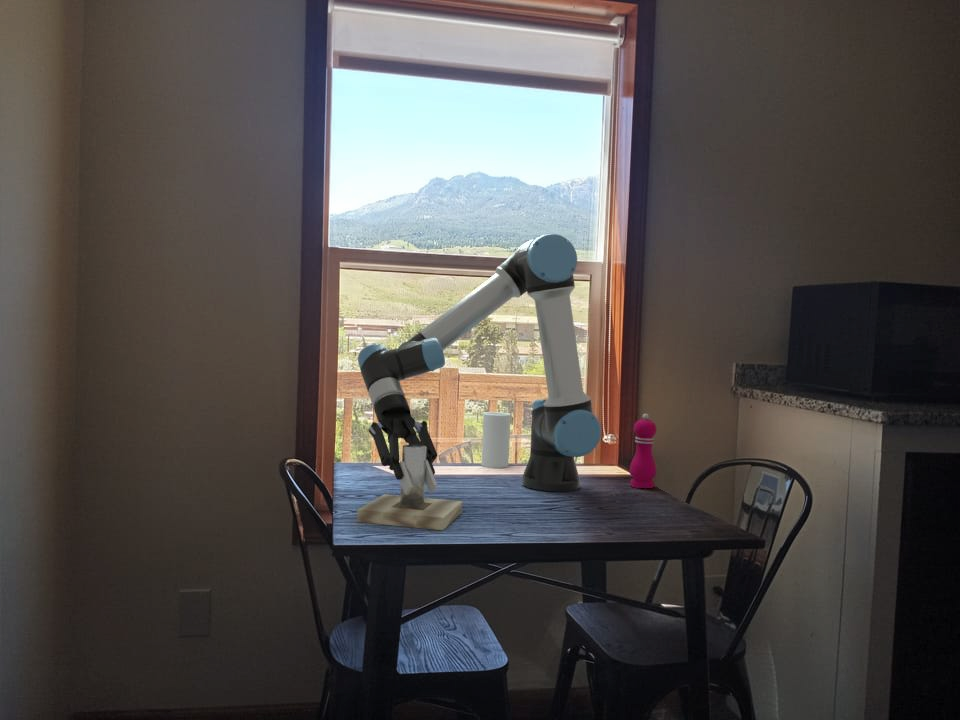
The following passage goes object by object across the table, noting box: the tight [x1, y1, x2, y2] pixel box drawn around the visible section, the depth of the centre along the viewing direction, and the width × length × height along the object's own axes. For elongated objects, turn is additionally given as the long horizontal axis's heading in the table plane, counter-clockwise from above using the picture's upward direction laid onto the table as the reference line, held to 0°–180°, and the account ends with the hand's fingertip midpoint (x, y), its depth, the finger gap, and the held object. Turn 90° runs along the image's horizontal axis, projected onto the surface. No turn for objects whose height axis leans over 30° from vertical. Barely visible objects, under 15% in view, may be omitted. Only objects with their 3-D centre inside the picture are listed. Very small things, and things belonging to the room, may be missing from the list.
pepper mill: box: [629, 413, 658, 490], centre depth 198 cm, size 7×7×20 cm
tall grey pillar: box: [400, 444, 427, 506], centre depth 154 cm, size 5×5×12 cm
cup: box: [481, 411, 512, 469], centre depth 222 cm, size 8×8×16 cm
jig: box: [356, 493, 463, 531], centre depth 154 cm, size 18×16×2 cm
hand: (421, 489), depth 151 cm, fingers closed on tall grey pillar, 5 cm apart
